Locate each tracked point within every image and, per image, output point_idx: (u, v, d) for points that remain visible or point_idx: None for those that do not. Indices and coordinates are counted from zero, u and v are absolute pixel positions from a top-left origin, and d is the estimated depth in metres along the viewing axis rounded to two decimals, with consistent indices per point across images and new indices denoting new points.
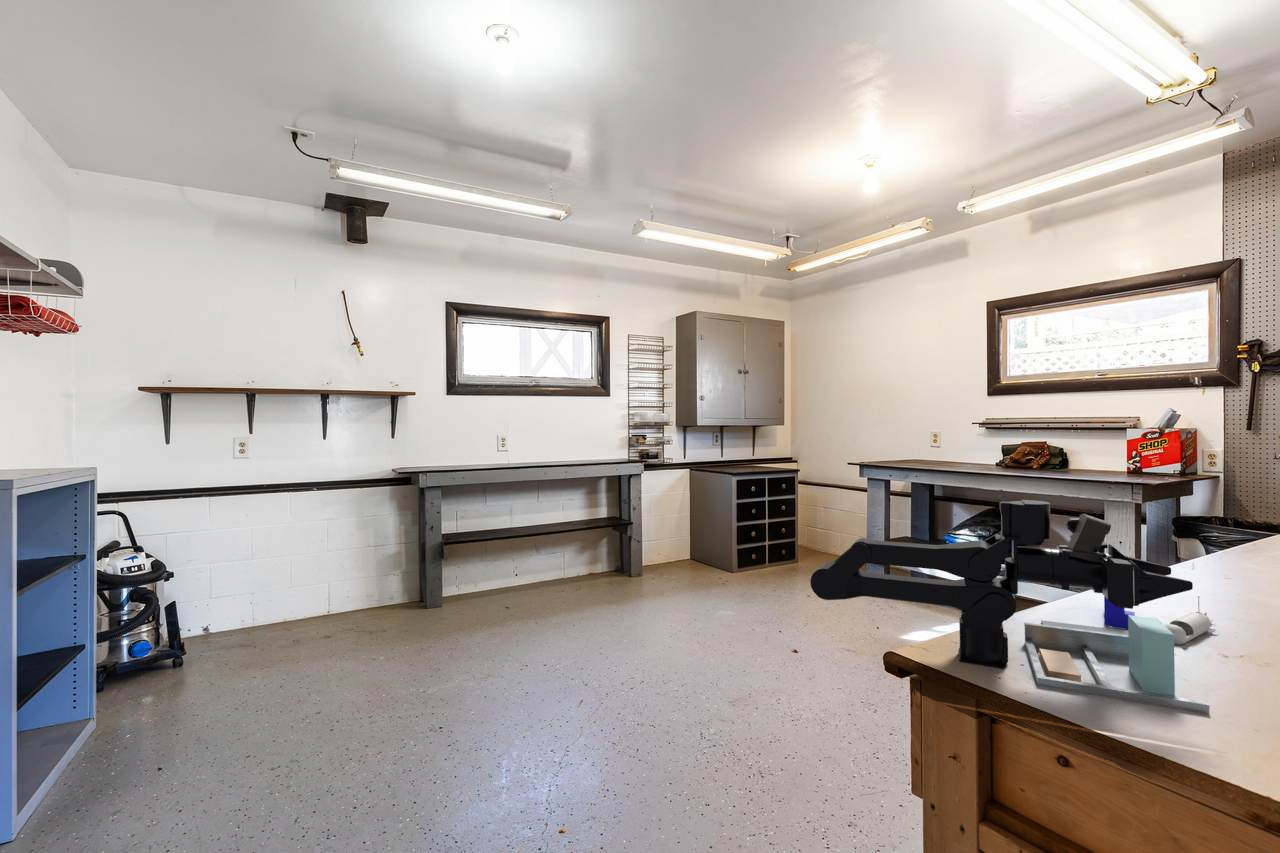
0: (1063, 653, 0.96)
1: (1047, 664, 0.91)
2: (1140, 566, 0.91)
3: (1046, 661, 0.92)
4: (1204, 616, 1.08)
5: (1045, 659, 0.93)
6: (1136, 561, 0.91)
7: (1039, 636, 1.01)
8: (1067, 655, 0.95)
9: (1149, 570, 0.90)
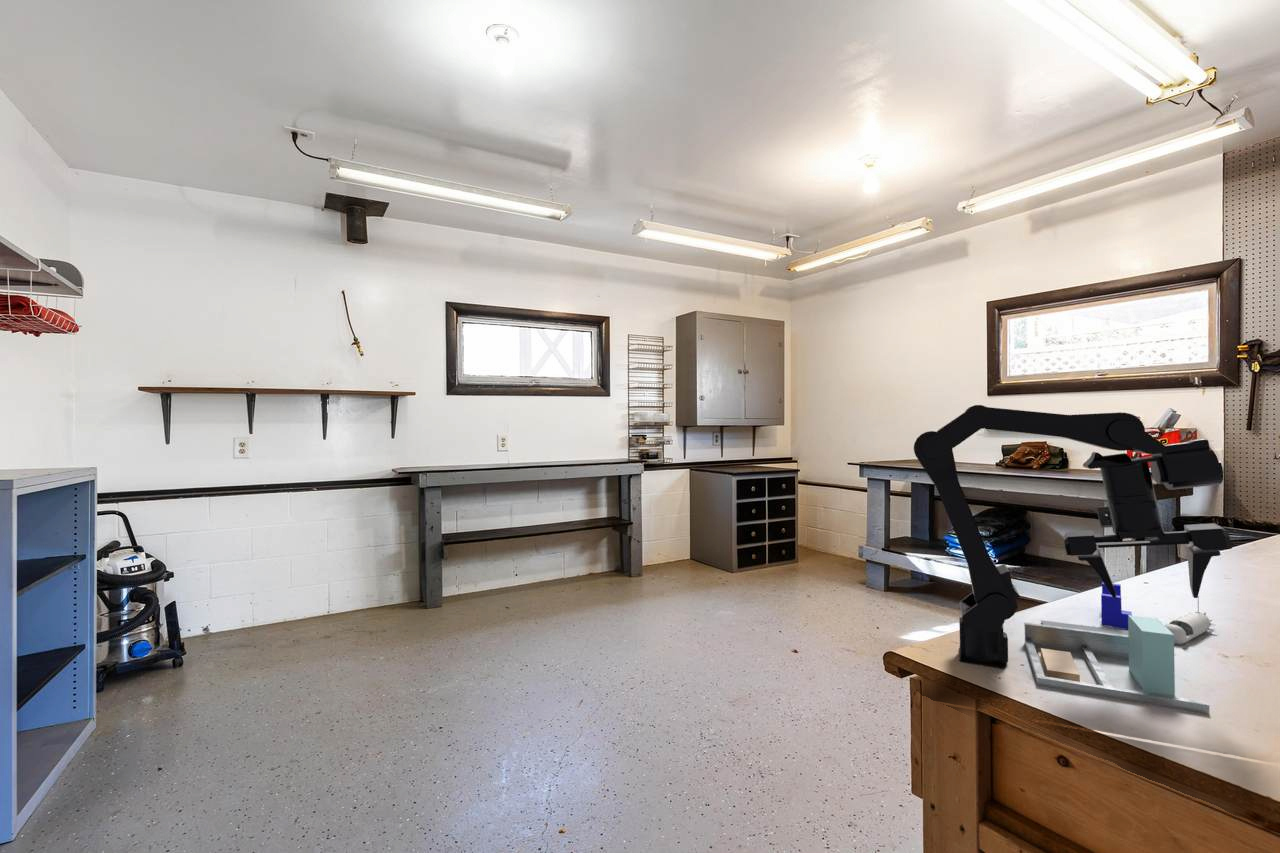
0: (1065, 652, 0.96)
1: (1046, 663, 0.91)
2: (1108, 574, 0.90)
3: (1046, 660, 0.92)
4: (1203, 616, 1.08)
5: (1045, 658, 0.93)
6: None
7: (1039, 636, 1.01)
8: (1068, 654, 0.95)
9: None
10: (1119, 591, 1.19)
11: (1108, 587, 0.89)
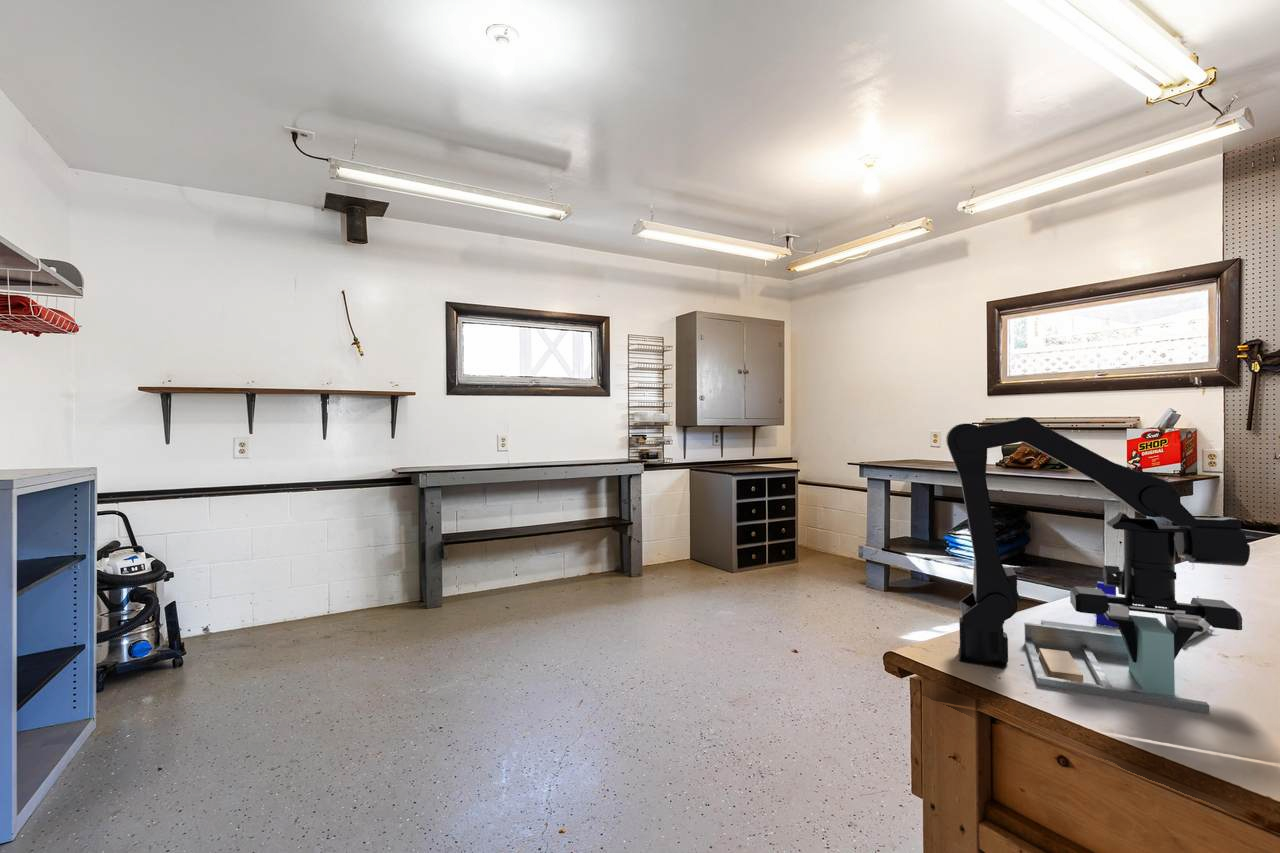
0: (1063, 652, 0.96)
1: (1048, 664, 0.91)
2: None
3: (1047, 661, 0.92)
4: None
5: (1046, 659, 0.93)
6: None
7: (1039, 636, 1.01)
8: (1067, 653, 0.95)
9: None
10: (1114, 590, 1.20)
11: (1131, 651, 0.87)
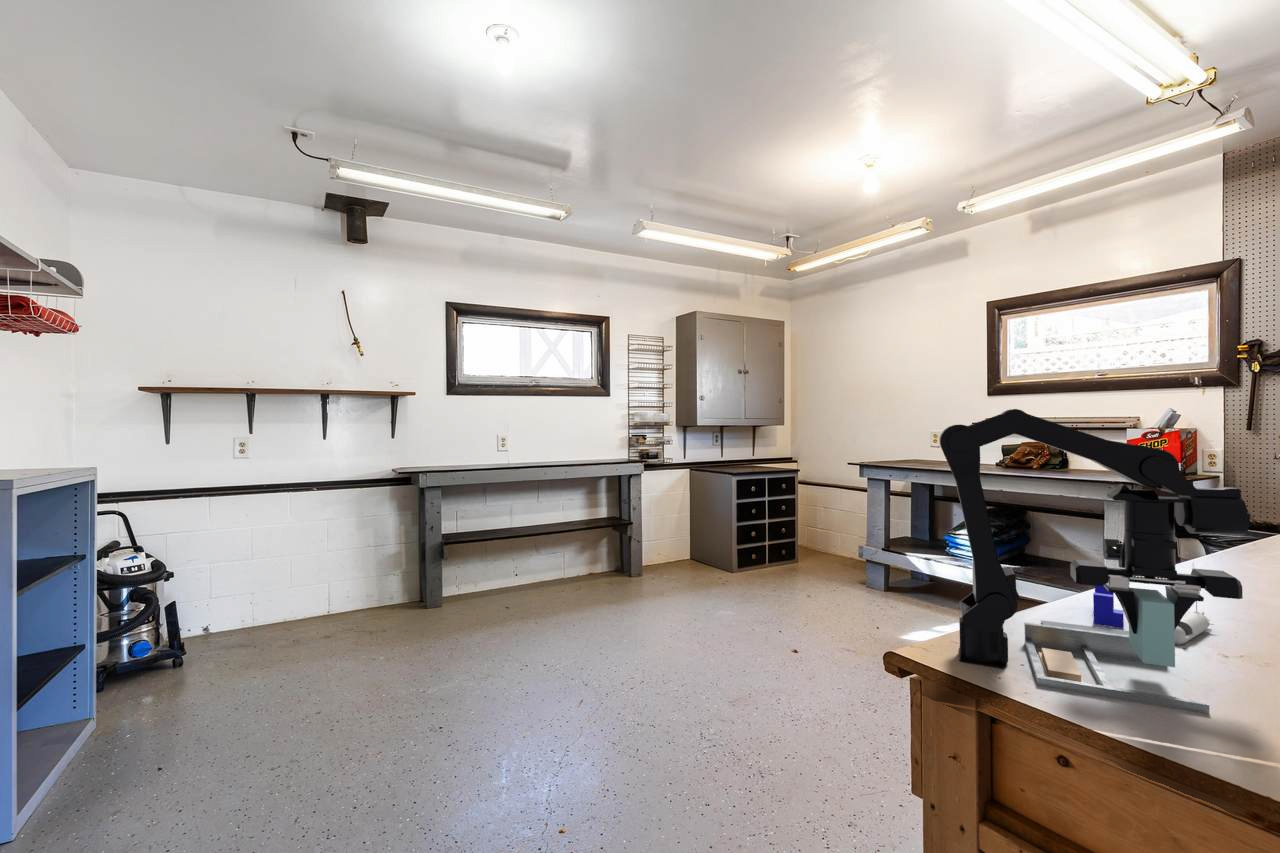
0: (1066, 652, 0.95)
1: (1048, 663, 0.91)
2: None
3: (1047, 660, 0.92)
4: (1202, 616, 1.08)
5: (1046, 658, 0.93)
6: None
7: (1039, 636, 1.01)
8: (1069, 654, 0.95)
9: None
10: None
11: (1131, 622, 0.87)
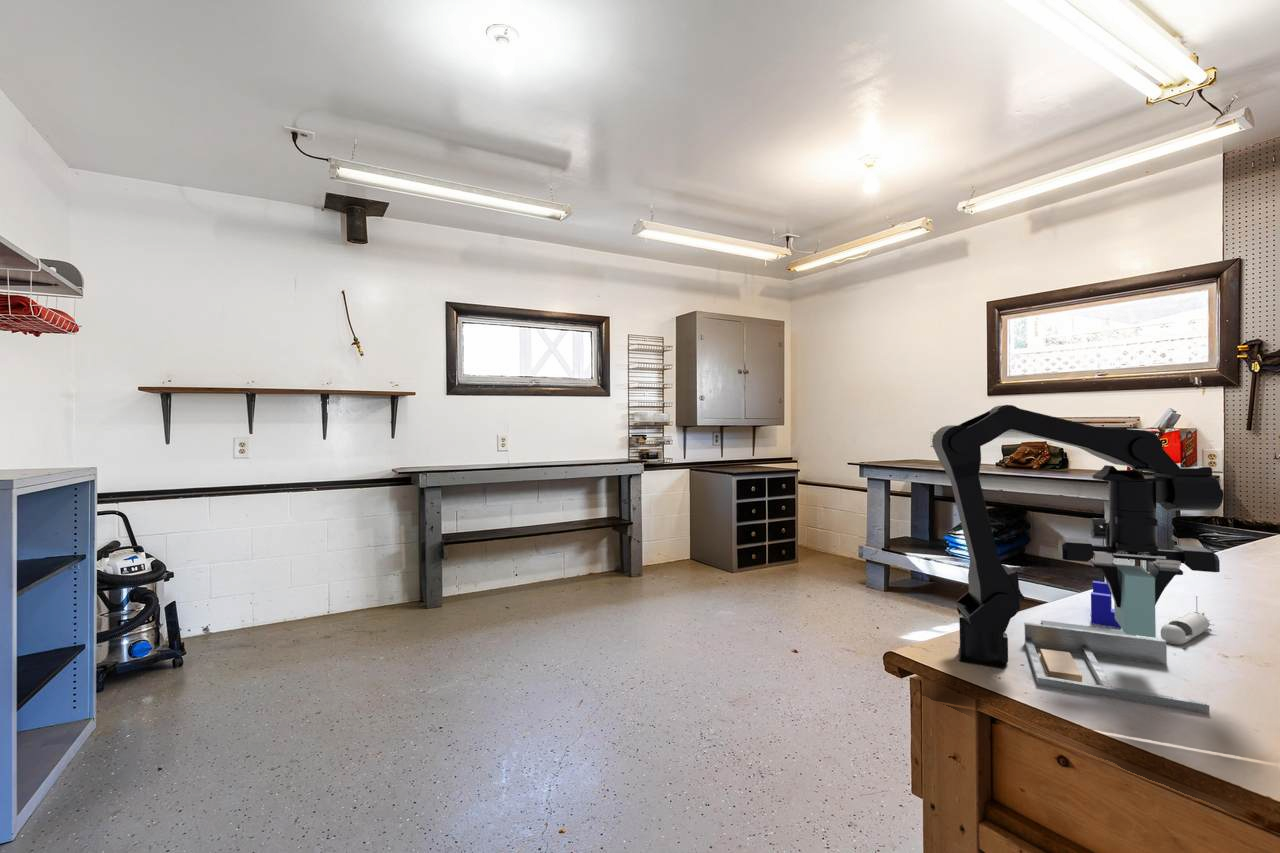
0: (1064, 652, 0.96)
1: (1048, 664, 0.91)
2: None
3: (1047, 661, 0.92)
4: (1202, 616, 1.08)
5: (1046, 659, 0.93)
6: None
7: (1039, 636, 1.01)
8: (1068, 654, 0.95)
9: None
10: None
11: (1115, 596, 0.92)
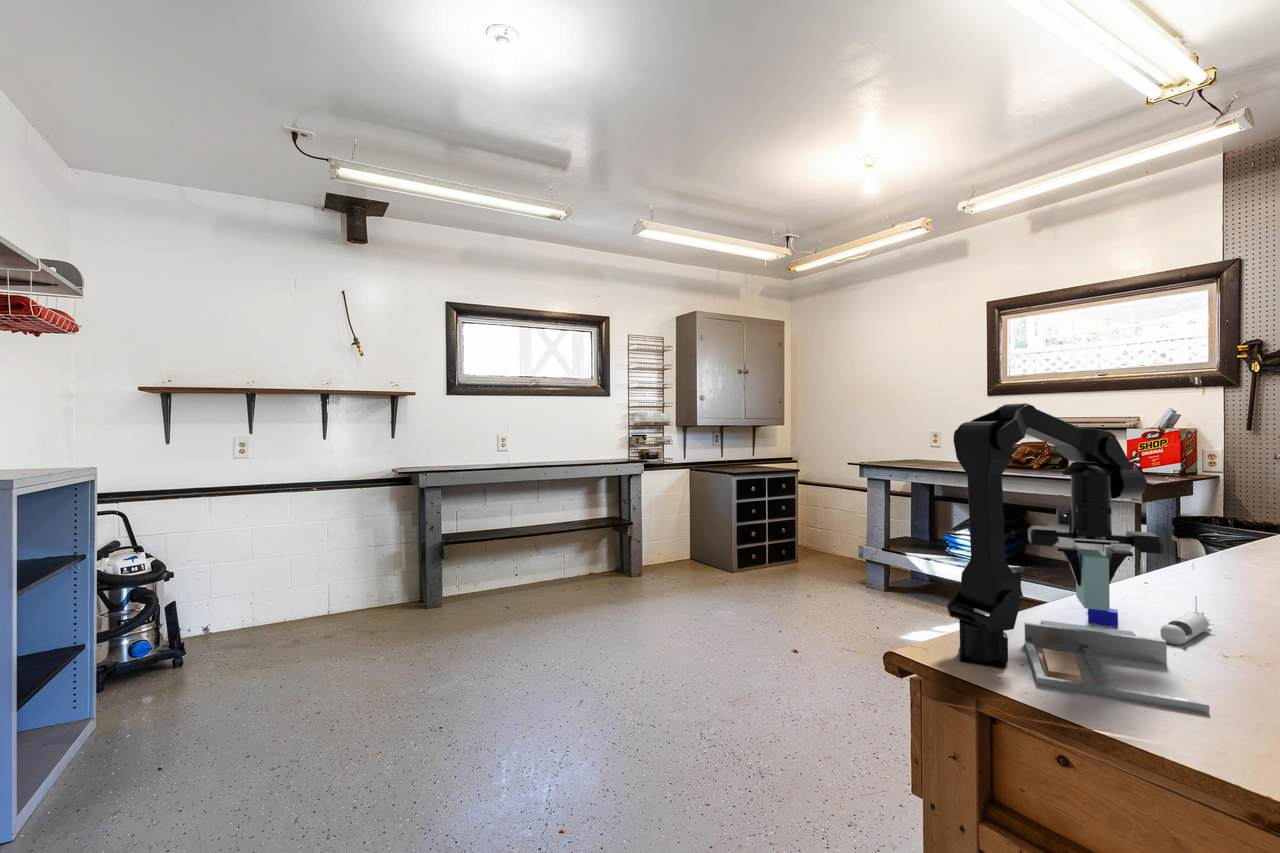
0: (1067, 653, 0.95)
1: (1048, 664, 0.91)
2: None
3: (1048, 661, 0.92)
4: (1202, 616, 1.08)
5: (1047, 659, 0.93)
6: None
7: (1039, 636, 1.01)
8: (1070, 655, 0.95)
9: None
10: None
11: (1076, 576, 1.05)
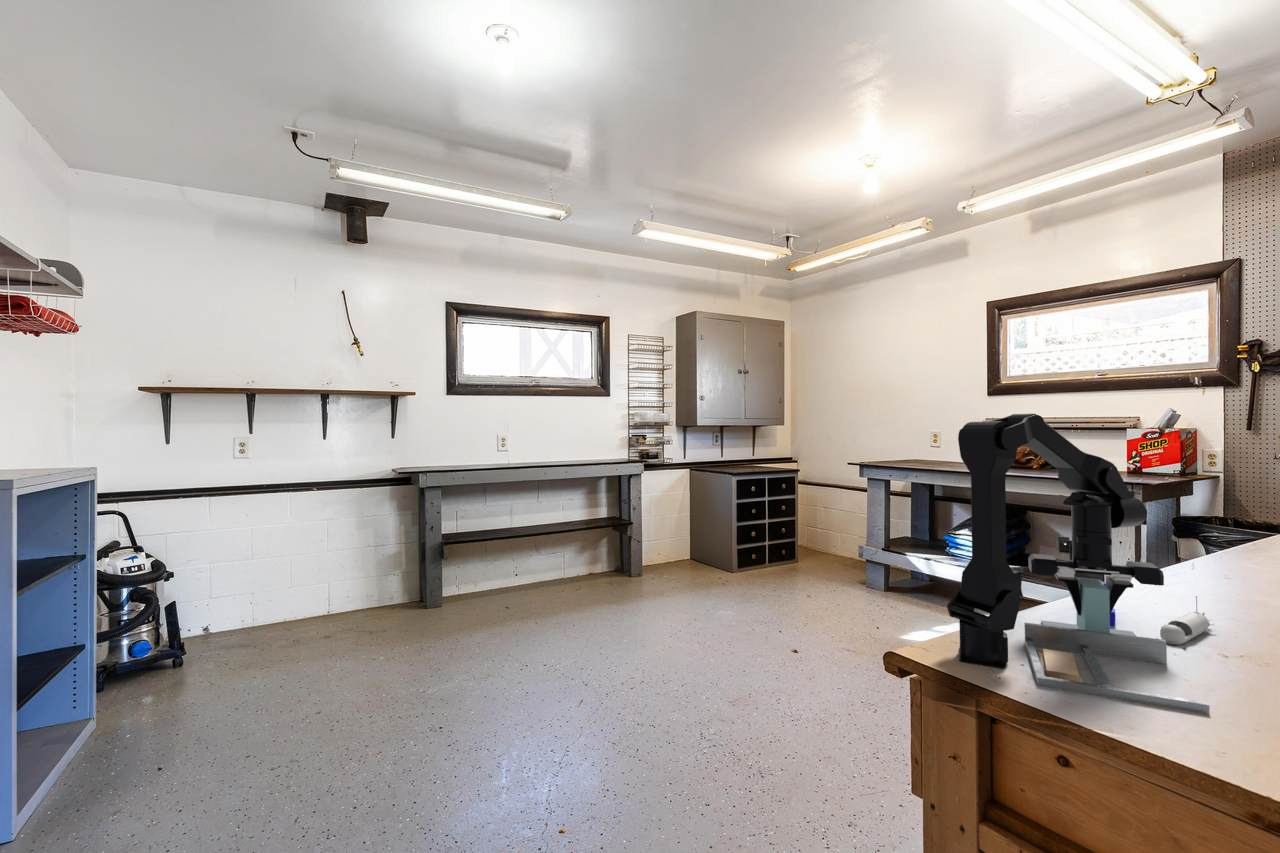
0: (1067, 653, 0.95)
1: (1047, 664, 0.91)
2: None
3: (1046, 661, 0.92)
4: (1202, 616, 1.08)
5: (1046, 659, 0.93)
6: None
7: (1039, 636, 1.01)
8: (1070, 655, 0.95)
9: None
10: None
11: (1076, 605, 1.05)
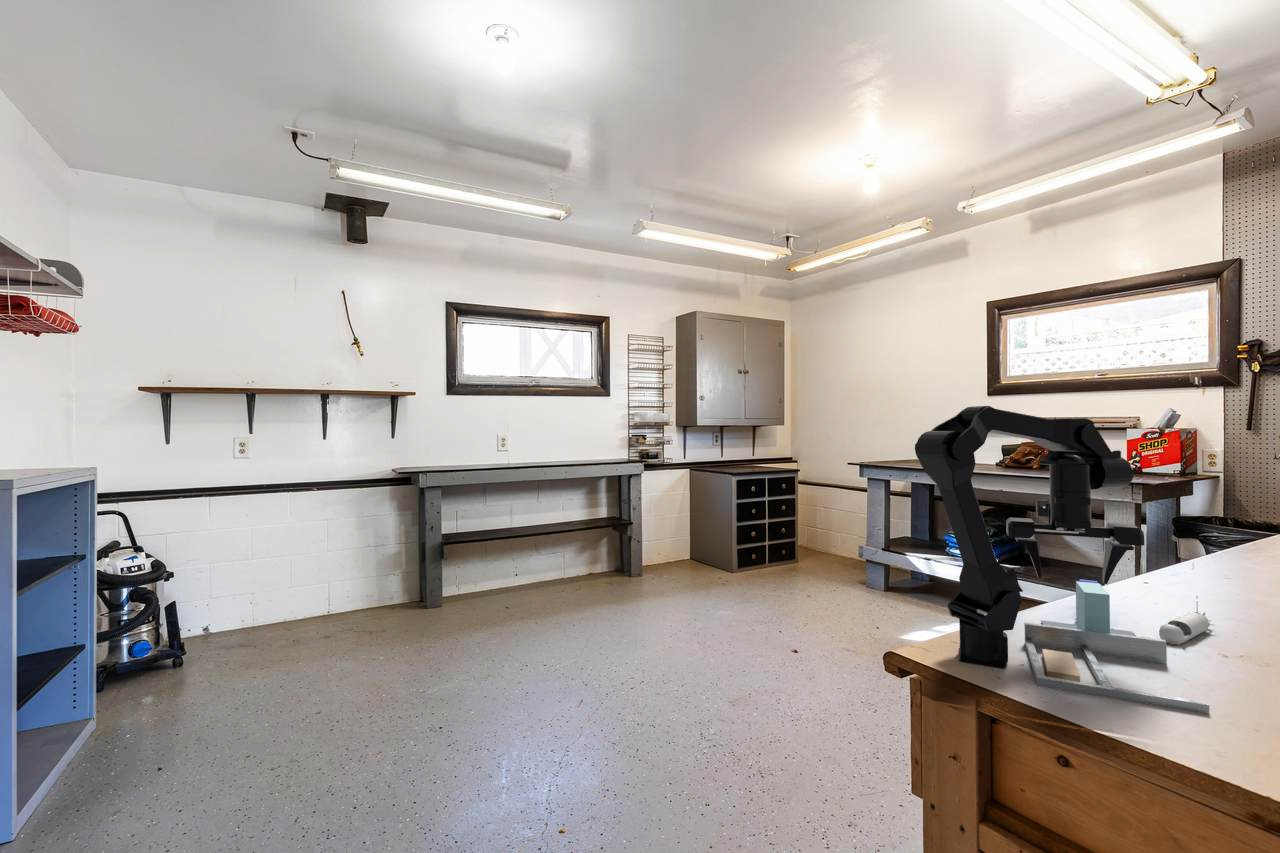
0: (1066, 653, 0.95)
1: (1047, 664, 0.91)
2: None
3: (1047, 661, 0.92)
4: (1202, 616, 1.08)
5: (1046, 659, 0.93)
6: None
7: (1039, 636, 1.01)
8: (1069, 655, 0.95)
9: None
10: None
11: (1036, 568, 1.02)
